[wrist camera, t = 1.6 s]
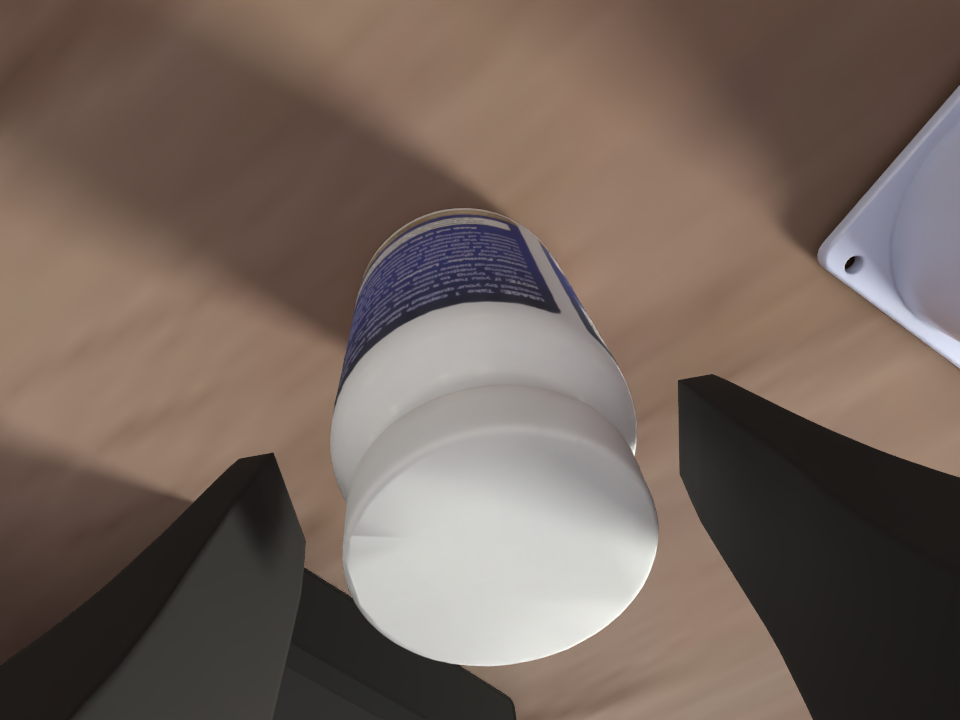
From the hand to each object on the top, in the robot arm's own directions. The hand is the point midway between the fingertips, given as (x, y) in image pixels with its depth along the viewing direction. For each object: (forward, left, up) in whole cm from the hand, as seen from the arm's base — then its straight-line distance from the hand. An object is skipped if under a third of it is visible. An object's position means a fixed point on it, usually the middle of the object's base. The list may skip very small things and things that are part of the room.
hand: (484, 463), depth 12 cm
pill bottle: (0, 0, -8) cm, 8 cm away
